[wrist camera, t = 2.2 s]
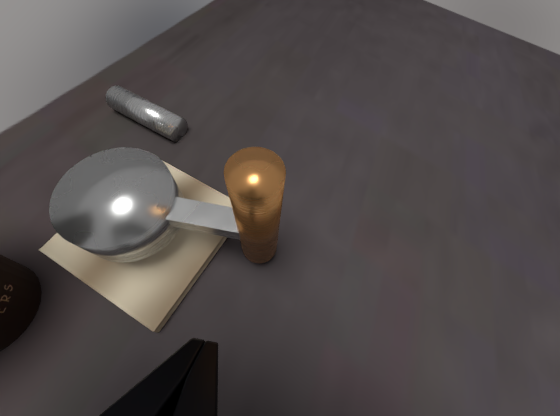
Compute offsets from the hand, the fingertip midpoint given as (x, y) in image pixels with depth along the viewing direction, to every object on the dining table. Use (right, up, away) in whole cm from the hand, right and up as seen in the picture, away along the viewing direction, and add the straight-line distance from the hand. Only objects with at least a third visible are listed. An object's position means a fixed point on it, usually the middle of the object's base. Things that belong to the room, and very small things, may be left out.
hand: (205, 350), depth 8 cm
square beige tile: (-8, +3, +13) cm, 16 cm away
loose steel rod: (-11, +14, +19) cm, 26 cm away
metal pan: (-5, +3, +12) cm, 13 cm away
